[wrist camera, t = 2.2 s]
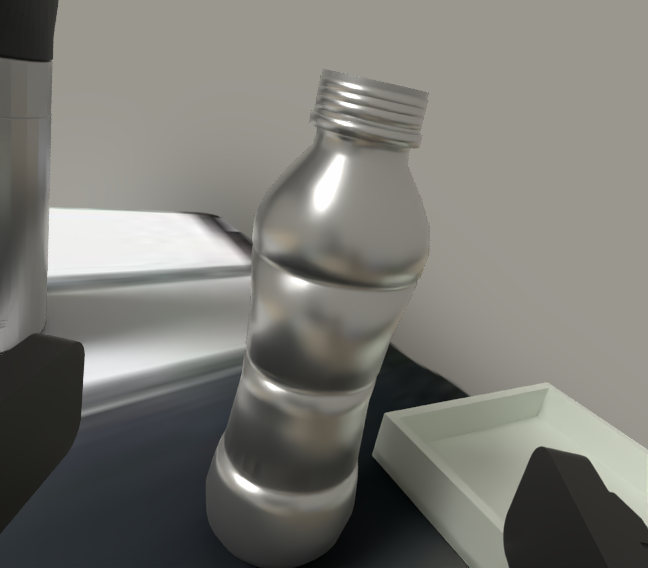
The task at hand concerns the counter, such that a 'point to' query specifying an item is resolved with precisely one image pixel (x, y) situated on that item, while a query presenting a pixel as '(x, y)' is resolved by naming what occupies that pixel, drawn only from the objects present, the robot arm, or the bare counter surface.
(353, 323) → the plastic bottle
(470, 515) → the tray
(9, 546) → the counter surface
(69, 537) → the counter surface
